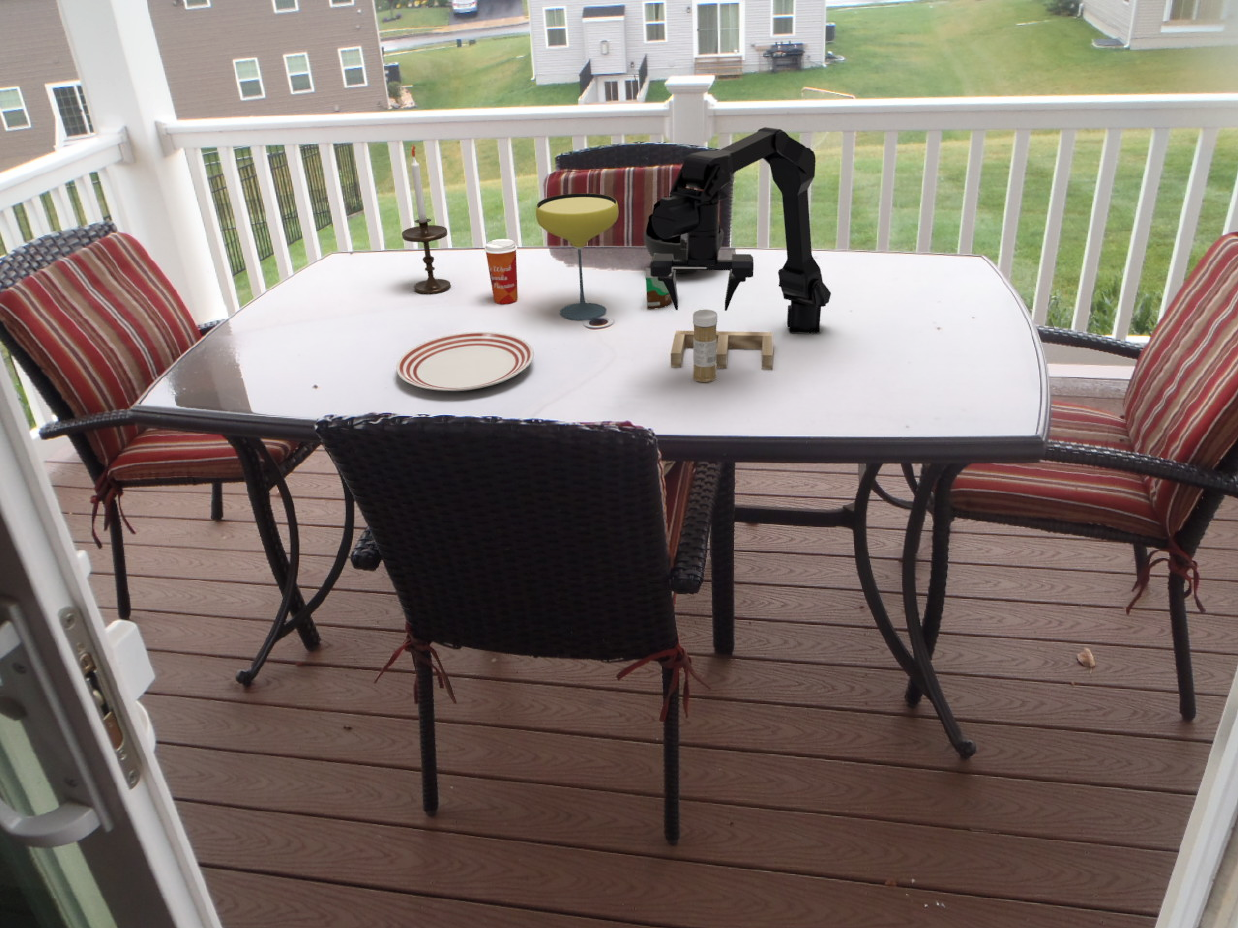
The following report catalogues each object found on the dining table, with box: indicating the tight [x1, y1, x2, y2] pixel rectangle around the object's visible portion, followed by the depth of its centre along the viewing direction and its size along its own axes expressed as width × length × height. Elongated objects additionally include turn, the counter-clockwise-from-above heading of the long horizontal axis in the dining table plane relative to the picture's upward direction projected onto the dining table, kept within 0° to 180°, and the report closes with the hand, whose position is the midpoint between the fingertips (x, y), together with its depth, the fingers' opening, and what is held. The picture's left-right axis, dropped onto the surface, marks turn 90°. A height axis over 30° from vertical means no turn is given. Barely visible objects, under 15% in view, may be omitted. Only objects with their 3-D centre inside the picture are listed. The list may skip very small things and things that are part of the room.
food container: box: [644, 253, 676, 310], centre depth 215 cm, size 12×6×10 cm, turn 168°
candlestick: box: [401, 143, 452, 295], centre depth 224 cm, size 11×11×35 cm
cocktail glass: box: [535, 192, 619, 321], centre depth 208 cm, size 18×18×25 cm
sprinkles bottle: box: [692, 309, 718, 383], centre depth 176 cm, size 5×5×14 cm
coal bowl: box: [643, 194, 725, 274], centre depth 232 cm, size 20×20×19 cm
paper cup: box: [483, 238, 519, 305], centre depth 219 cm, size 8×8×14 cm
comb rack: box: [670, 330, 774, 370], centre depth 188 cm, size 20×12×3 cm, turn 82°
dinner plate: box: [396, 331, 535, 392], centre depth 186 cm, size 28×27×3 cm
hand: (701, 309), depth 174 cm, fingers open, 9 cm apart
